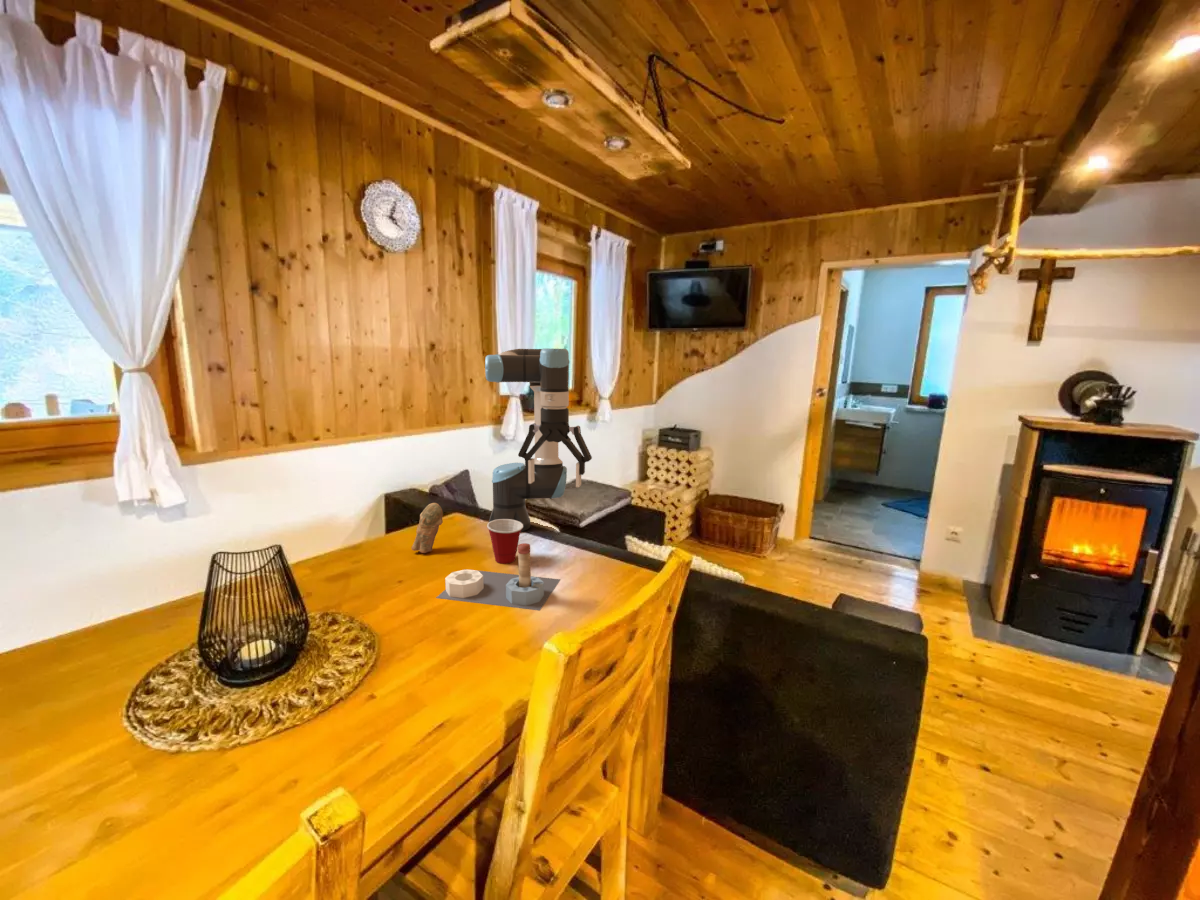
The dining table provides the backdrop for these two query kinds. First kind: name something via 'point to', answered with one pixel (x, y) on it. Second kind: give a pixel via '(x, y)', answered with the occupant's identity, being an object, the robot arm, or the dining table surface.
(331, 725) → the dining table surface
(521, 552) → the dowel
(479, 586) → the bead white
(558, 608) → the dining table surface
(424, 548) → the figurine
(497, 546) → the plastic cup
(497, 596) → the felt mat
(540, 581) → the bead blue
